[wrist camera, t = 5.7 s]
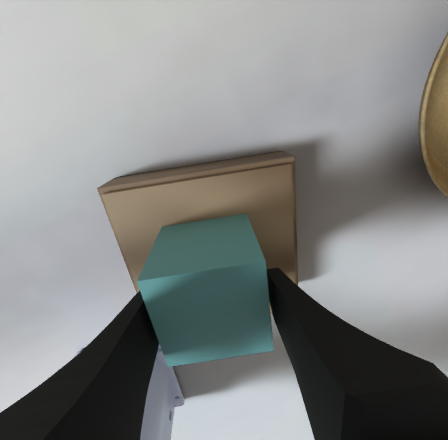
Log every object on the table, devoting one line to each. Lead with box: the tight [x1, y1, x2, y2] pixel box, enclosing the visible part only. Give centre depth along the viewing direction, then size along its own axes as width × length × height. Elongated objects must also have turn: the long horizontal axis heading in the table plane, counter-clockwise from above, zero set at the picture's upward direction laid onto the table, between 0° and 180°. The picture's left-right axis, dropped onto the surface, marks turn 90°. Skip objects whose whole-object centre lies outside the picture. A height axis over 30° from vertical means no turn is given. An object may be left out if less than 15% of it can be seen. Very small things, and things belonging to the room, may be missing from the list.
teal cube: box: [137, 213, 274, 367], centre depth 12 cm, size 5×5×5 cm
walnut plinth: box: [97, 151, 298, 314], centre depth 16 cm, size 11×11×3 cm
